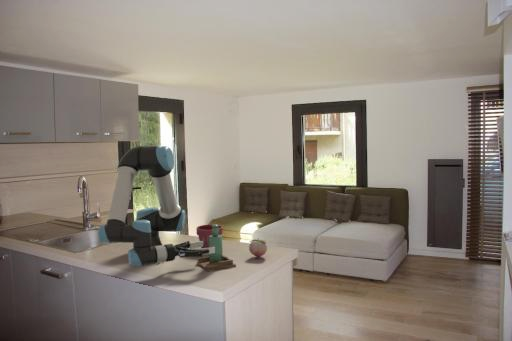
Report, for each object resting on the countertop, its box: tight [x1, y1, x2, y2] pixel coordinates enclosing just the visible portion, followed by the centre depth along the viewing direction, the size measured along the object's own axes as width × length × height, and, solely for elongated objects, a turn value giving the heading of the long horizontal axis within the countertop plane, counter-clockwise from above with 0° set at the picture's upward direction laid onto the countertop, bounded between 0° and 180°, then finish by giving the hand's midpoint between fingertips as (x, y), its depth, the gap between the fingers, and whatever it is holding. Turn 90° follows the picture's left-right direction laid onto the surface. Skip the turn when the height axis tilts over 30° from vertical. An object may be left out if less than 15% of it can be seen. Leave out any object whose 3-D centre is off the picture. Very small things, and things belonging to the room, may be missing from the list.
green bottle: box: [208, 223, 224, 263], centre depth 192 cm, size 6×6×18 cm
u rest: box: [196, 254, 237, 272], centre depth 193 cm, size 14×14×3 cm
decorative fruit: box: [248, 239, 268, 258], centre depth 205 cm, size 9×8×10 cm
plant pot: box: [196, 223, 224, 249], centre depth 221 cm, size 14×14×13 cm
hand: (208, 246), depth 190 cm, fingers open, 13 cm apart
